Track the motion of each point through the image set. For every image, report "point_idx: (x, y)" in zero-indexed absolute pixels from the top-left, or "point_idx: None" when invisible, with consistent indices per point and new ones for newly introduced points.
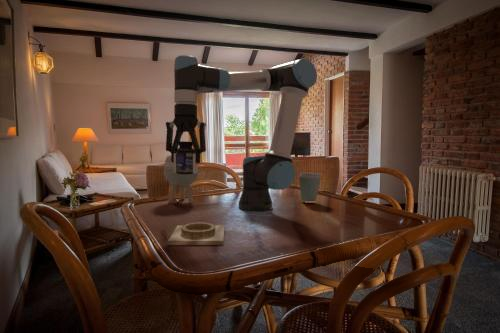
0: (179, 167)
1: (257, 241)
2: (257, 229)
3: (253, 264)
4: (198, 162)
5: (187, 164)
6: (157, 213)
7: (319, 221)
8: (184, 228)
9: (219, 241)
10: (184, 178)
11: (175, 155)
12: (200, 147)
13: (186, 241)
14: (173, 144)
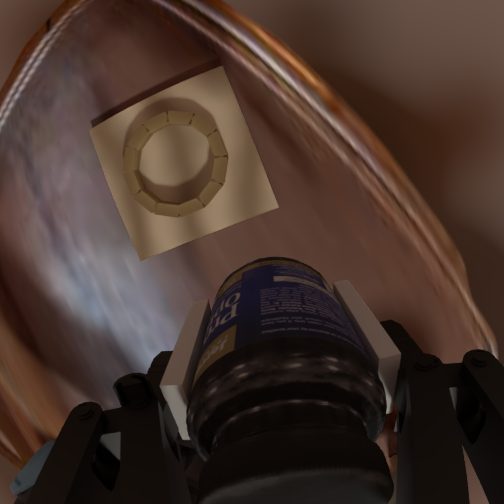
0: (295, 272)
1: (40, 191)
2: (72, 281)
3: (23, 73)
4: (158, 354)
5: (228, 297)
6: (412, 330)
7: (14, 372)
8: (206, 131)
9: (97, 126)
10: (394, 482)
11: (376, 347)
12: (86, 433)
13: (174, 86)
14: (447, 419)
